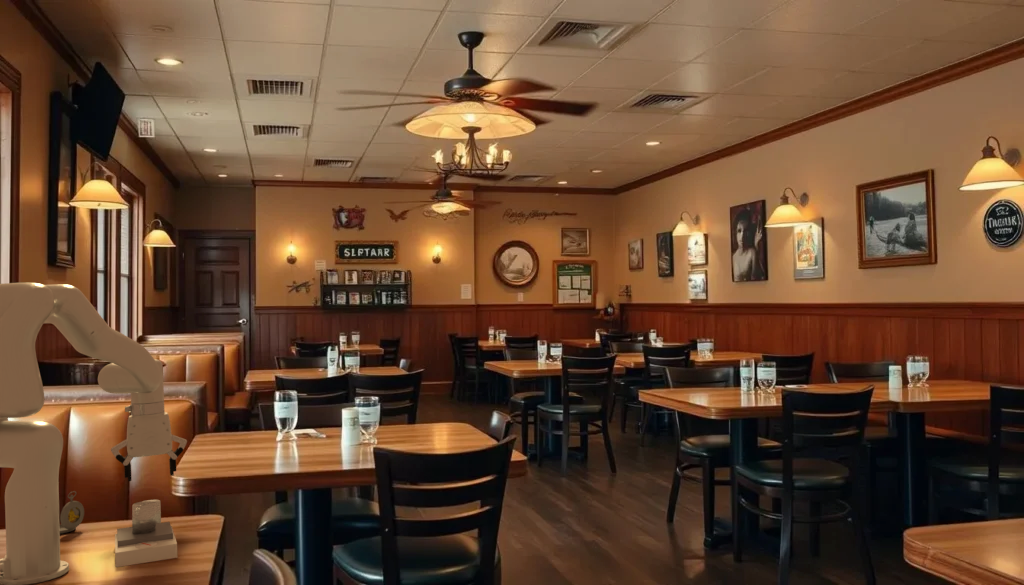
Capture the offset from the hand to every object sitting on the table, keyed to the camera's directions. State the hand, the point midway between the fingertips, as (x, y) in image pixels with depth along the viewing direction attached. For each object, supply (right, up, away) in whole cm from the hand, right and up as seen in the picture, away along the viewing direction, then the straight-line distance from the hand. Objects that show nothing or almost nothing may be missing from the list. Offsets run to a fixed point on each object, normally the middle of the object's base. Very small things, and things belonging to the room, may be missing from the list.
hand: (151, 477), depth 202 cm
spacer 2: (0, -12, -1) cm, 12 cm away
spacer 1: (+8, -7, -21) cm, 23 cm away
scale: (+9, -12, -22) cm, 27 cm away
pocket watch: (-19, -13, -4) cm, 24 cm away
